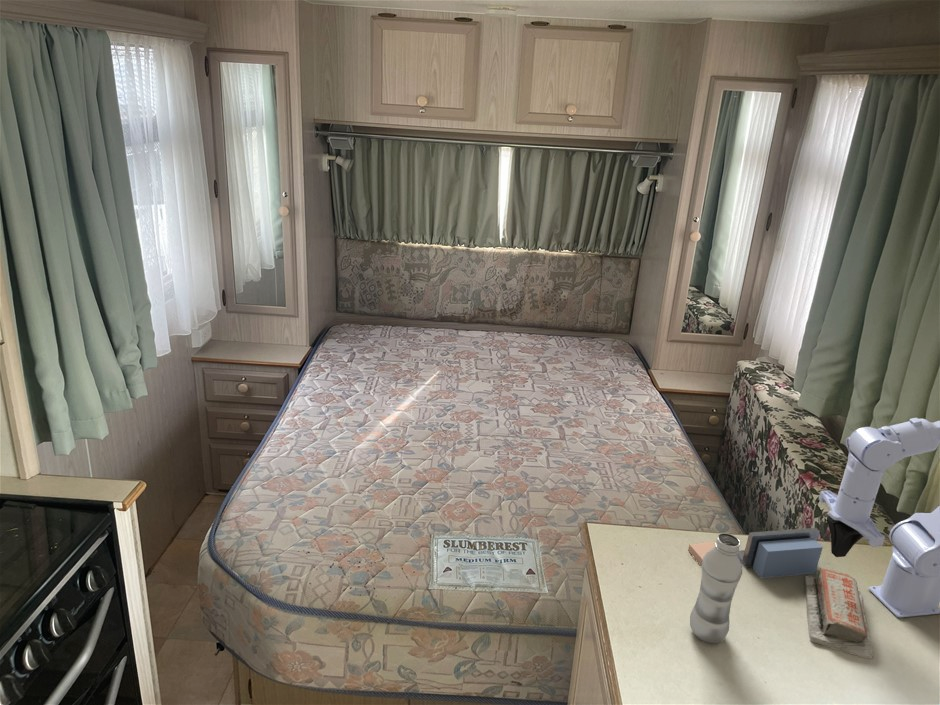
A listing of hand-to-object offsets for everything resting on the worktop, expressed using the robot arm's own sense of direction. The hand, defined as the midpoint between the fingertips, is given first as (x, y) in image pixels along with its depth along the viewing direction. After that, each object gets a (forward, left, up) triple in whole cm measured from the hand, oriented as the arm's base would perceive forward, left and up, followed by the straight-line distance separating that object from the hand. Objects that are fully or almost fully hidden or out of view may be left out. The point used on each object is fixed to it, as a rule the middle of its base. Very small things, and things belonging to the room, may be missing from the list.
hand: (838, 554), depth 128 cm
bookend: (+3, -12, -10) cm, 16 cm away
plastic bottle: (+28, +6, -10) cm, 30 cm away
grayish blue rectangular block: (+4, -8, -10) cm, 13 cm away
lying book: (+16, -14, -10) cm, 24 cm away
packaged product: (+2, +5, -11) cm, 12 cm away
